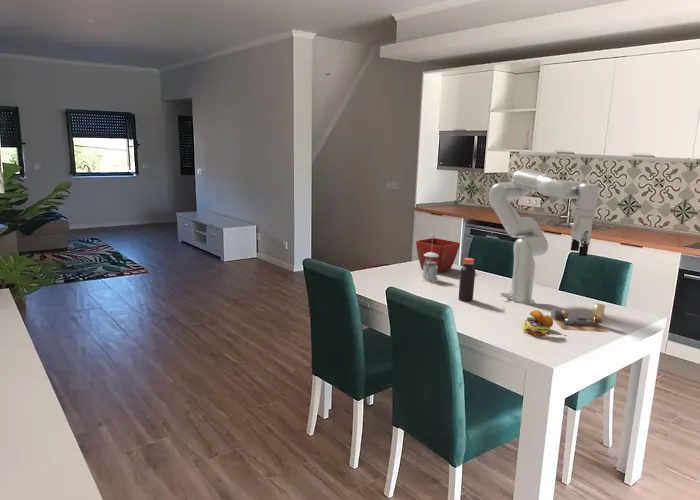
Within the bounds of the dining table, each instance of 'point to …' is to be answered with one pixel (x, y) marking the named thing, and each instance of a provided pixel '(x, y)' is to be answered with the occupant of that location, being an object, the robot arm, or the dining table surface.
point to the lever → (597, 318)
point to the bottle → (467, 280)
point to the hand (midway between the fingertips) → (578, 253)
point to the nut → (564, 314)
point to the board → (580, 326)
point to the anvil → (556, 313)
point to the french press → (430, 267)
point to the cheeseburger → (537, 323)
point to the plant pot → (438, 252)
